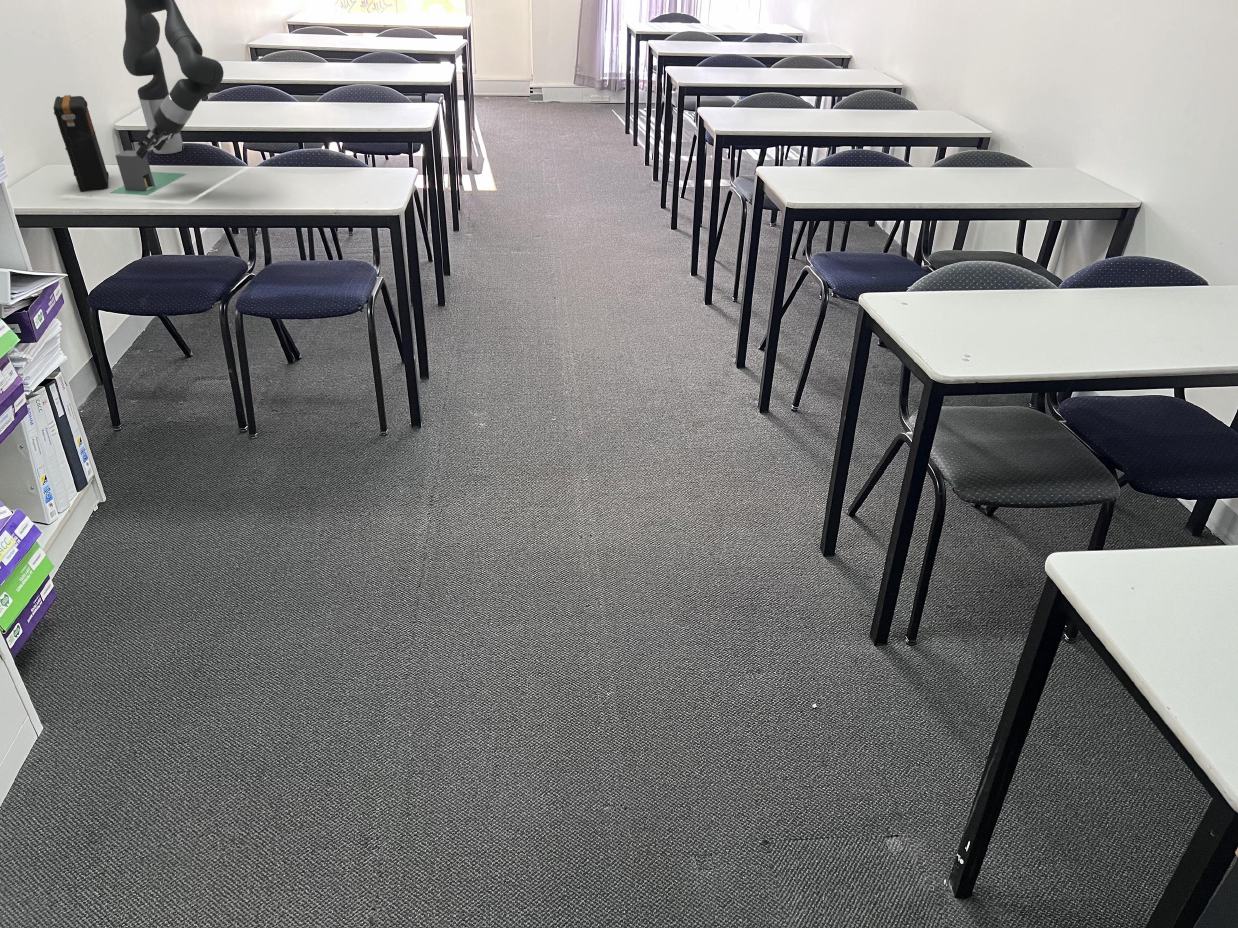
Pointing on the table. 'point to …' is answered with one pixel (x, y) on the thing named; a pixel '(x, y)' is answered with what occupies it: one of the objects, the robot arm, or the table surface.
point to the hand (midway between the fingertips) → (147, 152)
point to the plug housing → (134, 171)
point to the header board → (159, 182)
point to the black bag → (81, 142)
